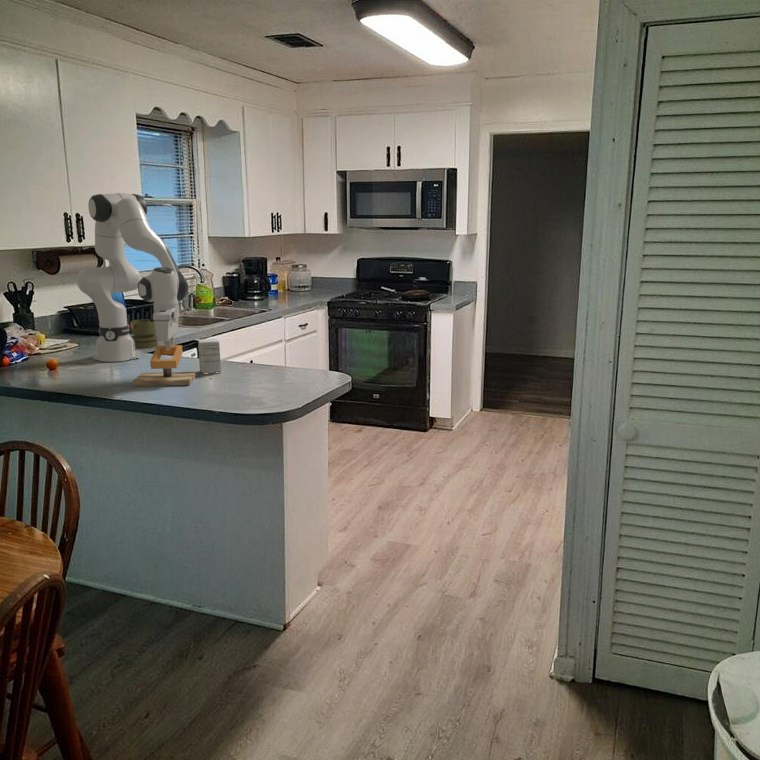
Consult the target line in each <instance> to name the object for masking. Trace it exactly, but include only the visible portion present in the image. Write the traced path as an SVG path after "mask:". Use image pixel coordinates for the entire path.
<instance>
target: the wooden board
mask: <svg viewBox="0 0 760 760" xmlns="http://www.w3.org/2000/svg"><path fill="white" fill-rule="evenodd" d="M195 377H196V378H197V371H172V377H164V376H163V371H161V372H158V371H157V372H140V374H139V375H138V376H136V377H135V378H134V379H133V380H132V381H131V382H132V383H131V384H132V385H131V386H132V387H133V386H145V387H170V386H169V385H190V386H191V384H192V383H193V382H194V381H193V379H194V378H195ZM196 378H195V379H196ZM195 379H194V380H195ZM192 381H193V382H192ZM191 382H192V383H191ZM190 383H191V384H190Z"/></svg>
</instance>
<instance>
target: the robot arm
mask: <svg viewBox="0 0 760 760" xmlns="http://www.w3.org/2000/svg"><path fill="white" fill-rule="evenodd" d="M88 214H89V215H90V217H91V218H92V220H93V221H95V223H94V250H95V253H96V254H97V256H99V257H100V258H102V259H105V260H106V261H108V266H98V267H97V266H94V267H89V268H84V269H81V270H80V271H79V272H78V274H77V276H76V284H77V287H78V289H79V290H80V292H82V293H83V294H85V295H86V296H88V297H89V298H90V299H91V301H92V302H93V303H94V305H95V308H96V311H97V314H98V322H99V323H98V324H99V326H98V334H99V335H98V336H99V337H98V338H97V339H96V342H95V343H96V356H93V360H94V361H95V360H97V361H99V362H104V363H105V362H108V363H109V362H110V363H111V362H112V363H114V362H124V361H130V359H131V360H137V359H136V358H138V359H140V358H141V354H142V352H141V349H136V348H135V342H134V340H133V338H132V336H131V334H130V333H131V331H130V329H131V325H130V324H129V323H128V317H127V308H126V307H125V305H124V304H123V303H122V302H118V301H116V300H114V299H113V298H112V294H114V293H115V294H117V293H128V292H132V291H135V290H137V291H138V296H139V297H140V298H141V299H142V300H143V301H145V302H147V303H148V302H149V303H153V314H152V320H153V321H155V328H156V334H155V335H157V340H158V342H163V343H164V346H165V347H166V350H167V351H169V350H171V345H174V337H175V336H176V335H177V334H178V333H179V321H178V318H179V317H180V305H179V303H180V301H183V300H184V299H185V297H186V296H187V295H188V293H189V287H190V286H189V283H188V280H187V279H186V278H185V276H184V275H183V274H182V272H181V270H180V269H179V267H178V265H177V263H176V261H175V259H174V256H173V254H172V252H171V250H170V249H169V247H168V245H167V243H166V242H165V241H164V239H163V238H162V237H160V235H159V236H158V235H157V233H155V231H154V230H153V229H152V227H151V225H150V223H149V220H148V217H147V214H148V205H147V202H146V199H145V198H144V197H143V196H142V195H141V194H136V193H132V194H130V193H122V192H121V193H120V192H116V193H106V194H102V193H98V194H94V195H91V197H90V198H89V200H88ZM125 245H127V246H128V247H130V248H131V249H134V250H136V251H140V252H142V253H147V254H149V255H151V256H153V257H155V258H156V259H157V260H158V261H159V263H160V265H161V266H160V267H155V268H152V269H151V273H149V275H147V276H143V277H141V274H140V271H139V270H138V269H137V268H136V267H135V266H133V265H132V264H131V263H130V262H129V259H128V258H127V256H126V252H125ZM139 357H140V358H139Z"/></svg>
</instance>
